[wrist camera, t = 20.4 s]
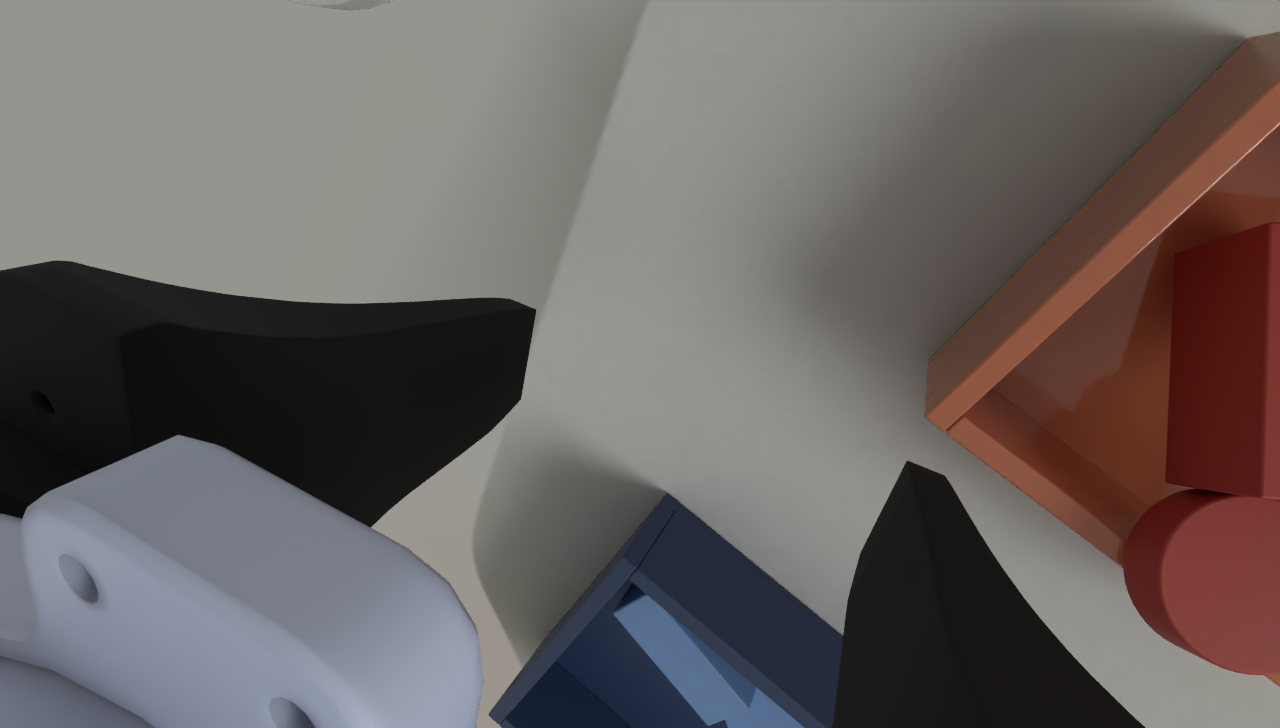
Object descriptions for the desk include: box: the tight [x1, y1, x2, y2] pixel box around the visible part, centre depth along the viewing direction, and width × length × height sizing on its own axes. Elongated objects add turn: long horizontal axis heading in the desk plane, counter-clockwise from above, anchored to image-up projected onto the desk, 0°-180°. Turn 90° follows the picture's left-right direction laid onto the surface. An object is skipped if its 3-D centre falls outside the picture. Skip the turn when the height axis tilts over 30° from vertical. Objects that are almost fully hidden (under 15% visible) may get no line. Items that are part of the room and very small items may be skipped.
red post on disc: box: [1123, 222, 1280, 675], centre depth 14 cm, size 9×4×3 cm, turn 5°
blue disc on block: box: [613, 583, 804, 728], centre depth 24 cm, size 9×4×3 cm, turn 45°
